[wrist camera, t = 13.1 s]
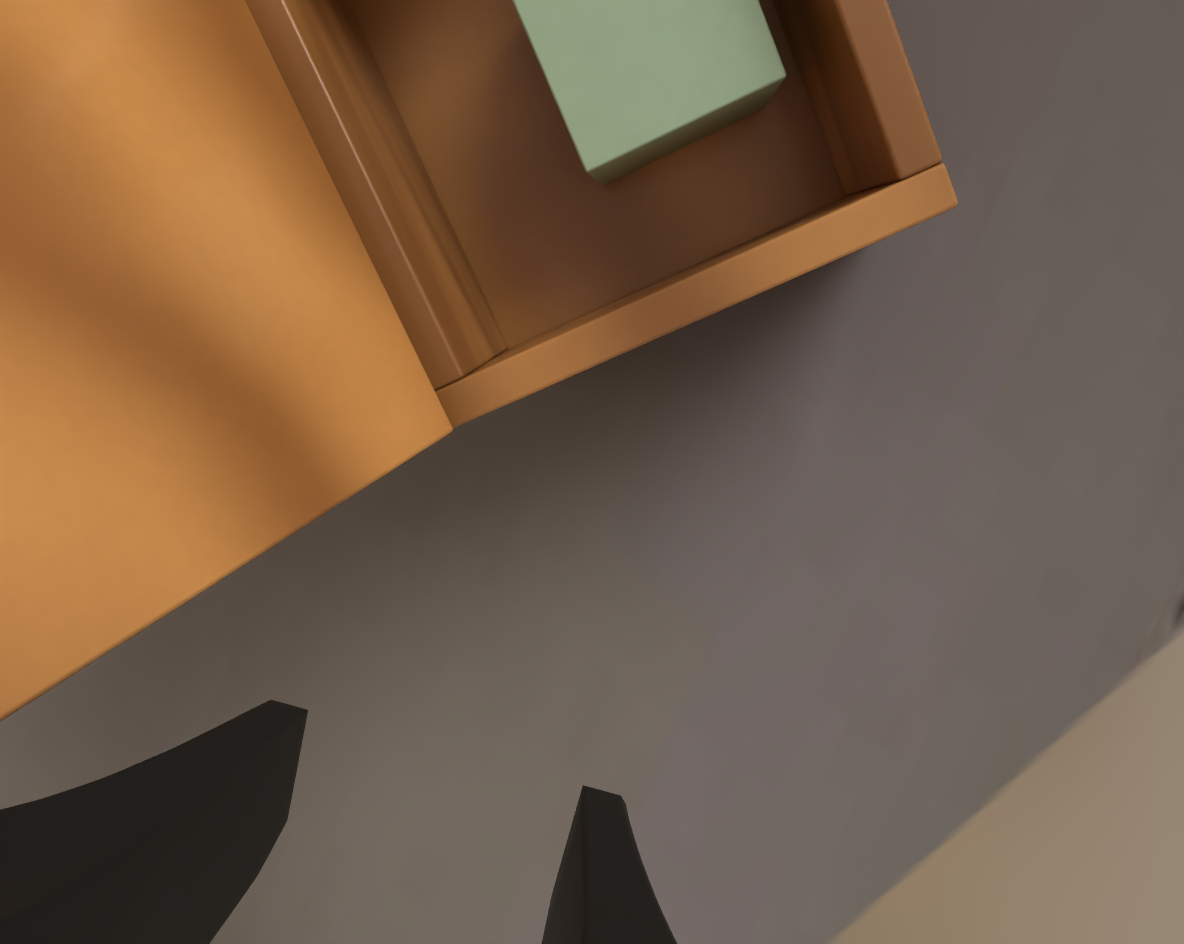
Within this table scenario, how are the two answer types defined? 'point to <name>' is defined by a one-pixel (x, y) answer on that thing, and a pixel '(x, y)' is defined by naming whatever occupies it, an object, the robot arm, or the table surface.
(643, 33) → the sage block
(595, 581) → the table surface
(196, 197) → the case lid
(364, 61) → the case
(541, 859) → the table surface
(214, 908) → the robot arm
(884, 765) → the table surface
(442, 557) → the table surface
